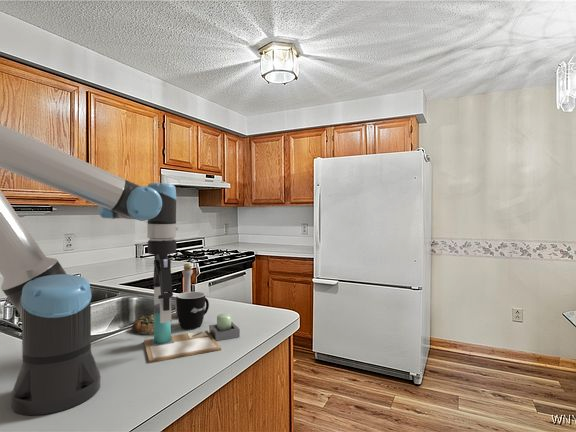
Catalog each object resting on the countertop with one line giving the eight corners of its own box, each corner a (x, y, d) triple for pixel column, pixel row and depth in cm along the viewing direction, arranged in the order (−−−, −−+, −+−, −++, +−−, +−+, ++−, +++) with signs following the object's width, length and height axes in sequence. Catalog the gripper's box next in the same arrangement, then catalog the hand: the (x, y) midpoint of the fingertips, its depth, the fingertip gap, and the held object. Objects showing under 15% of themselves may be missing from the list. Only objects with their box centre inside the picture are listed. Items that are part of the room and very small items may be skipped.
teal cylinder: (154, 344, 96) (154, 308, 96) (153, 339, 100) (152, 304, 100) (172, 342, 98) (172, 306, 98) (169, 336, 102) (169, 302, 102)
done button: (219, 332, 104) (219, 319, 103) (215, 328, 107) (215, 315, 107) (233, 330, 105) (233, 317, 105) (228, 326, 109) (228, 313, 109)
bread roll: (126, 327, 112) (129, 311, 113) (161, 325, 119) (164, 310, 119) (136, 339, 104) (139, 322, 104) (173, 336, 110) (176, 320, 111)
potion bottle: (192, 309, 132) (192, 261, 132) (204, 315, 126) (204, 264, 125) (169, 314, 126) (169, 264, 126) (181, 320, 120) (181, 267, 119)
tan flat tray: (149, 362, 87) (149, 359, 87) (143, 341, 100) (143, 339, 100) (221, 350, 95) (221, 347, 95) (207, 332, 109) (207, 329, 109)
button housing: (215, 341, 102) (215, 332, 101) (209, 333, 108) (209, 325, 108) (239, 337, 105) (239, 329, 105) (232, 329, 111) (232, 321, 111)
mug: (189, 333, 108) (189, 300, 108) (170, 327, 113) (170, 295, 112) (217, 322, 118) (217, 292, 118) (198, 317, 123) (198, 288, 123)
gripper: (184, 242, 89) (184, 326, 90) (169, 235, 111) (169, 302, 112) (152, 243, 86) (152, 331, 86) (143, 236, 108) (143, 305, 109)
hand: (162, 315), depth 99 cm, fingers open, 13 cm apart
